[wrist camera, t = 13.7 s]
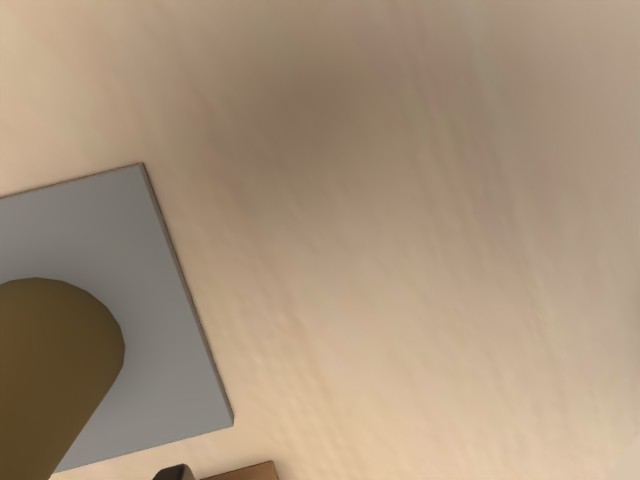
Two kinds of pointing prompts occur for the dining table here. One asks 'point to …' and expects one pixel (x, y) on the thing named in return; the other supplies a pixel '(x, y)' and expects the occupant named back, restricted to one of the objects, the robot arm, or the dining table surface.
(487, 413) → the dining table surface
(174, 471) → the robot arm
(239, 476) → the walnut divider
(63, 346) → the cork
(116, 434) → the grey mat
